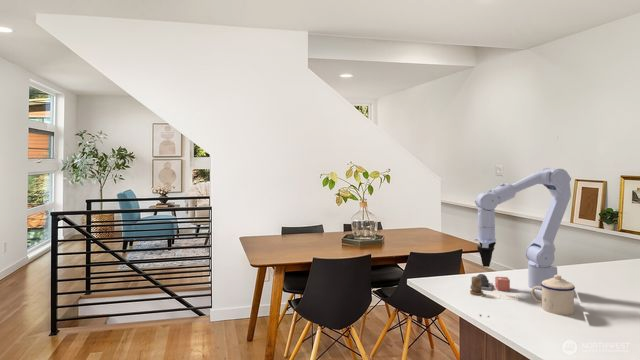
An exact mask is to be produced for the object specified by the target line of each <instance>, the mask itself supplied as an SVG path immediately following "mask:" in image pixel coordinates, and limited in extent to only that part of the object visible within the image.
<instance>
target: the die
mask: <svg viewBox="0 0 640 360" xmlns="http://www.w3.org/2000/svg"><path fill="white" fill-rule="evenodd" d="M494 280H495V282H494V286H495V289H496V290H497V291H501V292H502V291H503V292H505V291H506V292H510V290H511V285H510V284H511V281H510V278H508V276H495V277H494Z"/></svg>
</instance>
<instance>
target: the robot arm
mask: <svg viewBox="0 0 640 360" xmlns="http://www.w3.org/2000/svg"><path fill="white" fill-rule="evenodd" d="M571 181H572V177H571V176H570V174H569V172H568V171H566V169H563V168H550V167H546V168H542V169H540V170H537V171H535V172H533V173H532V174H529V175H528V176H525V177H524V178H522V179H521V178H520V180H517V181H515V182H514V183H512V184H511V183H508V182H506V183H503V182H502V183H499V186H497V187H495V188H493V189H487V191H486V192H481V193H479V194H478V195H477V197H476V198H475V200H474V204H475V206H476V207H477V230H478V231H477V237H474V241H476V242H479V243H478V244H479V245H477V247H476V249H477V250H478V252H479V256H480V258H481V259H480V260H481V264H482V267H487V268H489V267H490V265H491V263H492V262H491V261H492V257H493V252H494V251H495V246H496V245H497V244H496V243H497V242H496V241H497V239H496V213H495V211H496V208H497V207H498V205H501V204H502V203H505V202H507V201H510V200H512V199H514V198H515V197H516V194H517V193H519V192H521V191H523V190H526V189H528V188H531V187H533V186H536V185H543V186H544V187H545V188H546V189H547V190H548V191H549V193H550V195H551V199H550V201H549V205H548V207H547V210H546V212H545V215H544V217H543V220H542V223H541V225H540V228H539V231H538V233H537V236H536V237H534V238H533V239H532V240H531V242H530V244H529V245H528V246H527V247H526V249H525V252H524V254H525V255H524V256H525V257H526V259H528V262H527V263H528V266H527V267H528V273H527V274H528V283H527V284H528V288H530V289H532V288H533V287H535V286H541V287H542V285H541V283H542V281H544V280H549V279H551V278H554V275H558V267H557V266H554V265H553V264H554V262H555V252H556V247H555V244H554V241H555V240H556V236H557V233H558V230H559V228H560V226H561V223H562V220H563V217H564V215H565V212H566V211H567V207H568V204H569V202H570V200H571V197H572V192H571ZM537 290H539V291H542V289H536V291H537Z"/></svg>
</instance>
